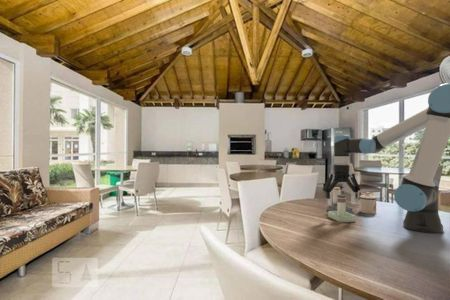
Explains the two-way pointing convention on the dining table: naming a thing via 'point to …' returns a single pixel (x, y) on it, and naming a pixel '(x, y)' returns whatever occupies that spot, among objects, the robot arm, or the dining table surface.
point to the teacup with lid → (368, 203)
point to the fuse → (335, 194)
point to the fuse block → (334, 208)
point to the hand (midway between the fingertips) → (341, 204)
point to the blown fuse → (341, 205)
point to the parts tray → (342, 217)
